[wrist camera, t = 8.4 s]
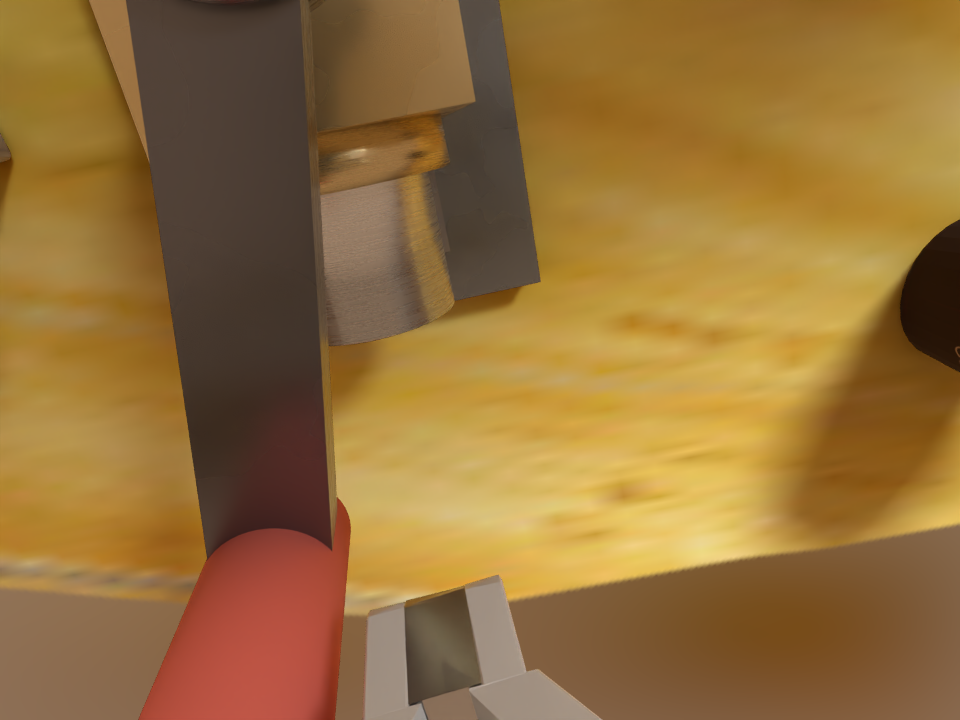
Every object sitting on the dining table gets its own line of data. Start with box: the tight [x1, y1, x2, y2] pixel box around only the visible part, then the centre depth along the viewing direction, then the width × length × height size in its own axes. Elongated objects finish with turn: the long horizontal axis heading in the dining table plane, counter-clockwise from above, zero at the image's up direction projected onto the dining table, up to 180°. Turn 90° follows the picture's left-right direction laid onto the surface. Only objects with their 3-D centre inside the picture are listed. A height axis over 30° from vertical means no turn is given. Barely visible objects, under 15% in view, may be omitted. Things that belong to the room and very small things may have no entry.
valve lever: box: [126, 0, 351, 720], centre depth 6 cm, size 14×4×7 cm, turn 178°
